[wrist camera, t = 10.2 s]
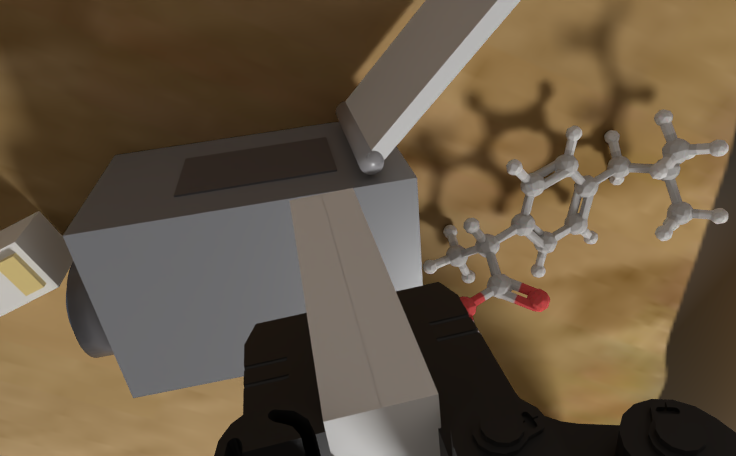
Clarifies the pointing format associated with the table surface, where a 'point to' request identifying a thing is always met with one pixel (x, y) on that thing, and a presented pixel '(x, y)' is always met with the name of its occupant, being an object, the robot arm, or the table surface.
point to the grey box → (216, 248)
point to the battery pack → (30, 261)
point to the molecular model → (573, 211)
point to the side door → (415, 74)
